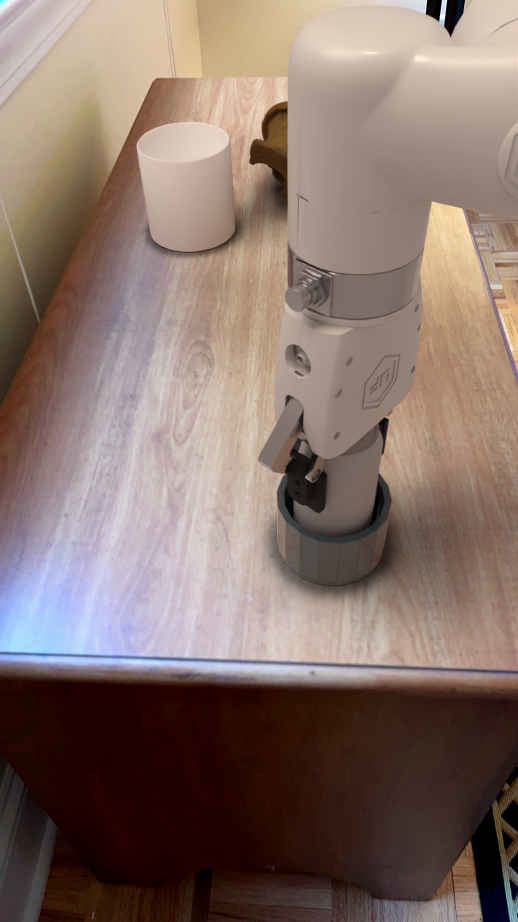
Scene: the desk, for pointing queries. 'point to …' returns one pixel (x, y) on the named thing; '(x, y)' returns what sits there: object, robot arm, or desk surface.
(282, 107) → the brown looped sculpture
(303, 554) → the holder
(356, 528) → the beverage can
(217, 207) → the cup
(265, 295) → the desk surface
